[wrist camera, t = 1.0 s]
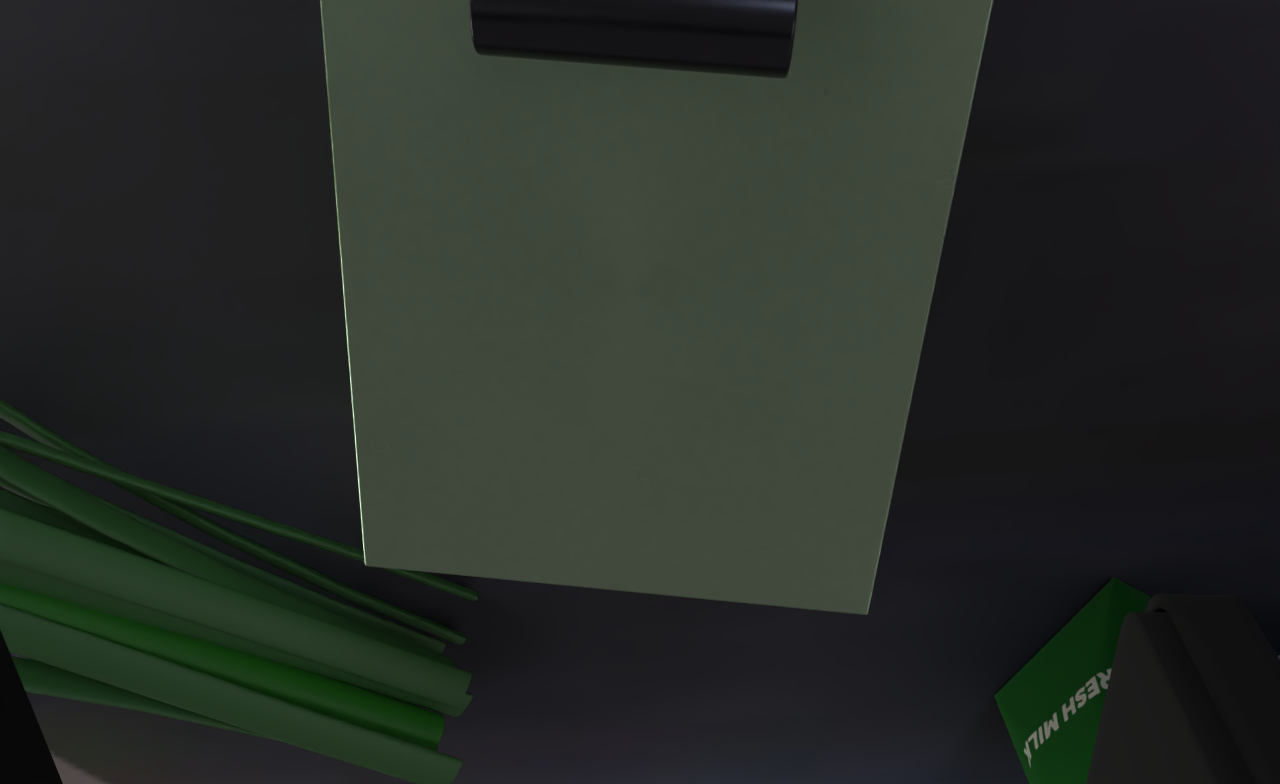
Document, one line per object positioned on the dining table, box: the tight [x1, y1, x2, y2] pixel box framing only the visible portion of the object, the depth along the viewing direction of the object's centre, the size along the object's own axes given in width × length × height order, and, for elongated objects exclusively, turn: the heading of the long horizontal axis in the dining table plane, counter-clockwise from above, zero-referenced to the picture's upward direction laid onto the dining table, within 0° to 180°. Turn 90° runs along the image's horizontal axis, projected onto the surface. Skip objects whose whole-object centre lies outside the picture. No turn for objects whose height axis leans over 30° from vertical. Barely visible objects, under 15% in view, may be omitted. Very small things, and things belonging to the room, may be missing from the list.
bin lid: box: [320, 0, 994, 615], centre depth 22 cm, size 16×13×5 cm
